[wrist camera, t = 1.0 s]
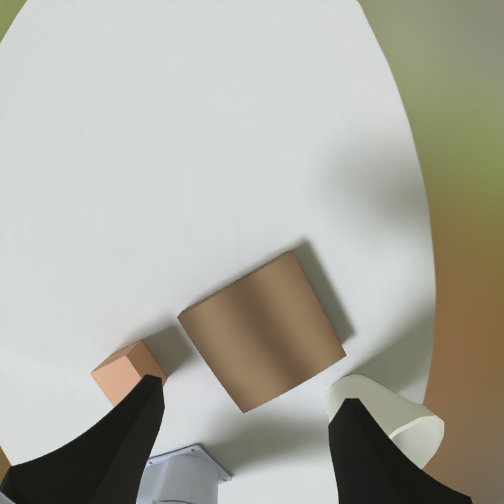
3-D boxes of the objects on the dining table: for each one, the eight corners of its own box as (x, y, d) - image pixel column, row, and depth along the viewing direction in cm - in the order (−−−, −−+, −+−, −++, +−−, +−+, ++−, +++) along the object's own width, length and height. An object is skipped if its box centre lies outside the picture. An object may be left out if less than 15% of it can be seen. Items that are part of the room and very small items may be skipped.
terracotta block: (134, 392, 26) (119, 413, 21) (109, 356, 25) (90, 373, 21) (167, 377, 26) (157, 399, 21) (142, 338, 26) (125, 355, 21)
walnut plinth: (242, 399, 27) (243, 413, 24) (182, 310, 27) (176, 317, 24) (336, 346, 28) (346, 355, 25) (285, 251, 27) (292, 251, 24)
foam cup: (317, 365, 27) (369, 431, 14) (387, 357, 28) (456, 402, 15) (307, 431, 27) (341, 504, 14) (372, 420, 28) (423, 476, 15)
